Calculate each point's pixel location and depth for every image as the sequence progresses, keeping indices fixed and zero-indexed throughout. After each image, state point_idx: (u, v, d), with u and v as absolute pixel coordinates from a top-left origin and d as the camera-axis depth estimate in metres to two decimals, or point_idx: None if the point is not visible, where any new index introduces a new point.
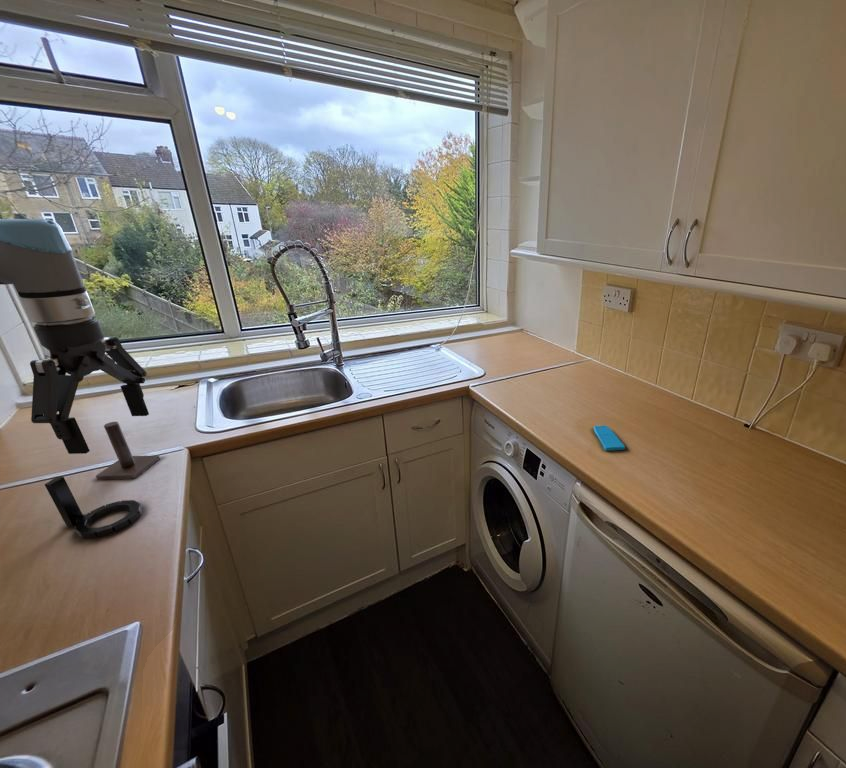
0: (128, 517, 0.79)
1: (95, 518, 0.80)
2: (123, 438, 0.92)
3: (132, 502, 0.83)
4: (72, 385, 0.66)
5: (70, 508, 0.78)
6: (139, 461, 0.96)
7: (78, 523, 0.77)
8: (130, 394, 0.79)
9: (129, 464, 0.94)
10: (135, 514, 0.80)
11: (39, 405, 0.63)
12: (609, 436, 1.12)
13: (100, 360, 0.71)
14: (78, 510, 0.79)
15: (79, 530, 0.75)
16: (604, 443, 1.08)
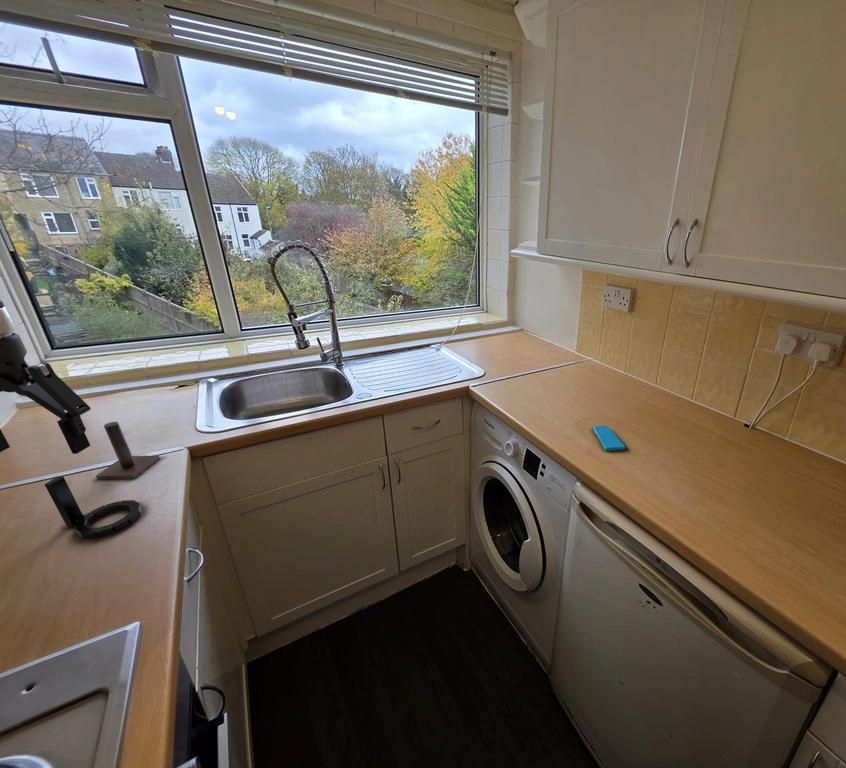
0: (128, 517, 0.79)
1: (95, 518, 0.80)
2: (123, 438, 0.92)
3: (132, 502, 0.83)
4: None
5: (70, 508, 0.78)
6: (139, 461, 0.96)
7: (78, 523, 0.77)
8: None
9: (129, 464, 0.94)
10: (135, 514, 0.80)
11: (71, 399, 0.69)
12: (609, 436, 1.12)
13: None
14: (78, 510, 0.79)
15: (79, 530, 0.75)
16: (604, 443, 1.08)
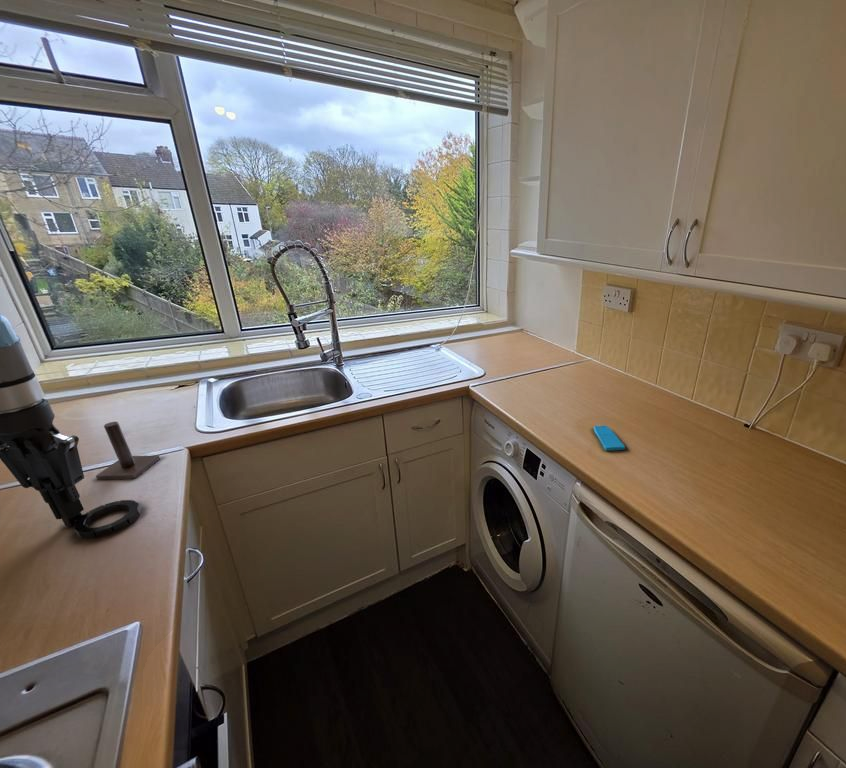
0: (127, 517, 0.79)
1: (94, 518, 0.80)
2: (123, 438, 0.92)
3: (131, 502, 0.82)
4: None
5: None
6: (139, 461, 0.96)
7: (77, 523, 0.77)
8: None
9: (129, 464, 0.94)
10: (134, 514, 0.80)
11: (75, 471, 0.75)
12: (609, 436, 1.12)
13: None
14: None
15: (78, 530, 0.75)
16: (604, 443, 1.08)
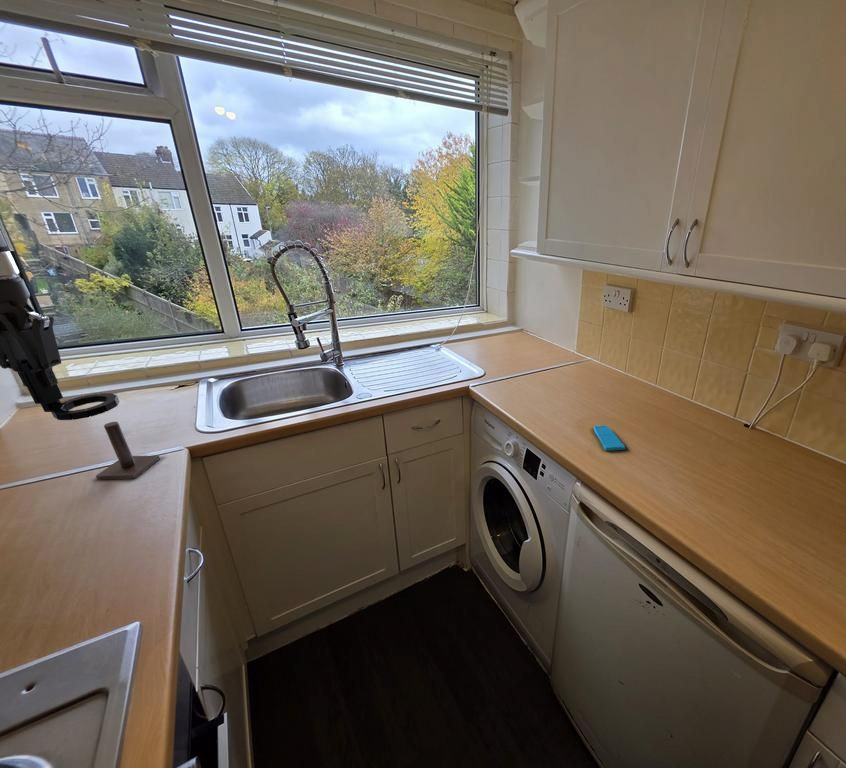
0: (103, 404, 0.79)
1: (72, 406, 0.81)
2: (123, 438, 0.92)
3: (110, 394, 0.83)
4: None
5: None
6: (139, 461, 0.96)
7: (54, 407, 0.78)
8: None
9: (129, 464, 0.94)
10: (111, 402, 0.81)
11: (51, 353, 0.76)
12: (609, 436, 1.12)
13: None
14: None
15: (54, 412, 0.76)
16: (604, 443, 1.08)
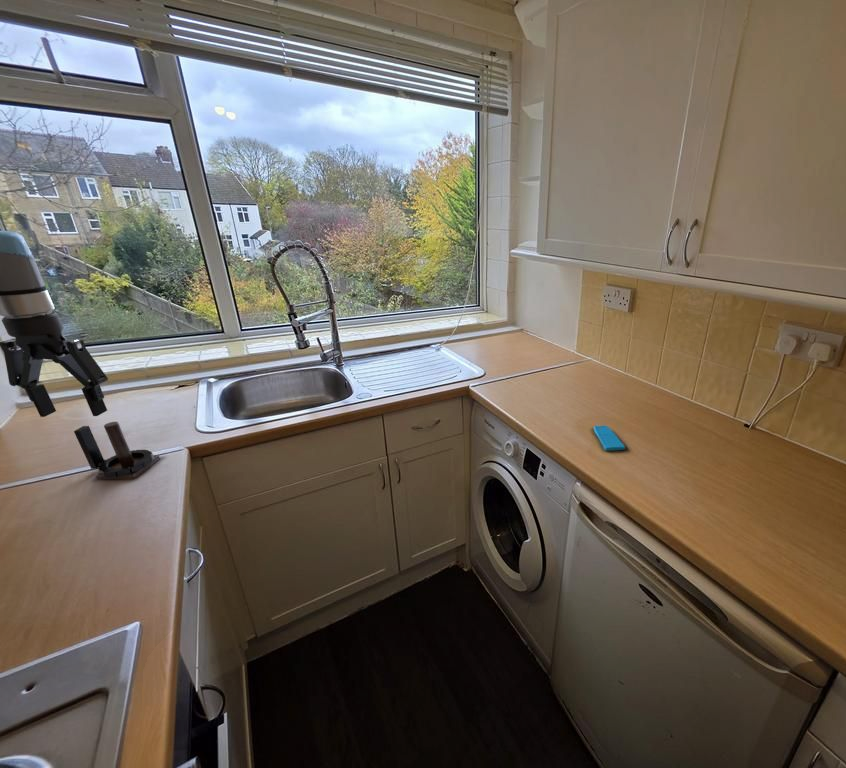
0: (142, 461, 0.94)
1: (114, 463, 0.95)
2: (123, 438, 0.92)
3: (145, 451, 0.98)
4: None
5: (94, 453, 0.93)
6: None
7: (101, 465, 0.92)
8: (40, 394, 0.87)
9: (129, 464, 0.94)
10: (148, 459, 0.95)
11: (95, 371, 0.86)
12: (609, 436, 1.12)
13: None
14: (100, 456, 0.94)
15: (102, 470, 0.91)
16: (604, 443, 1.08)
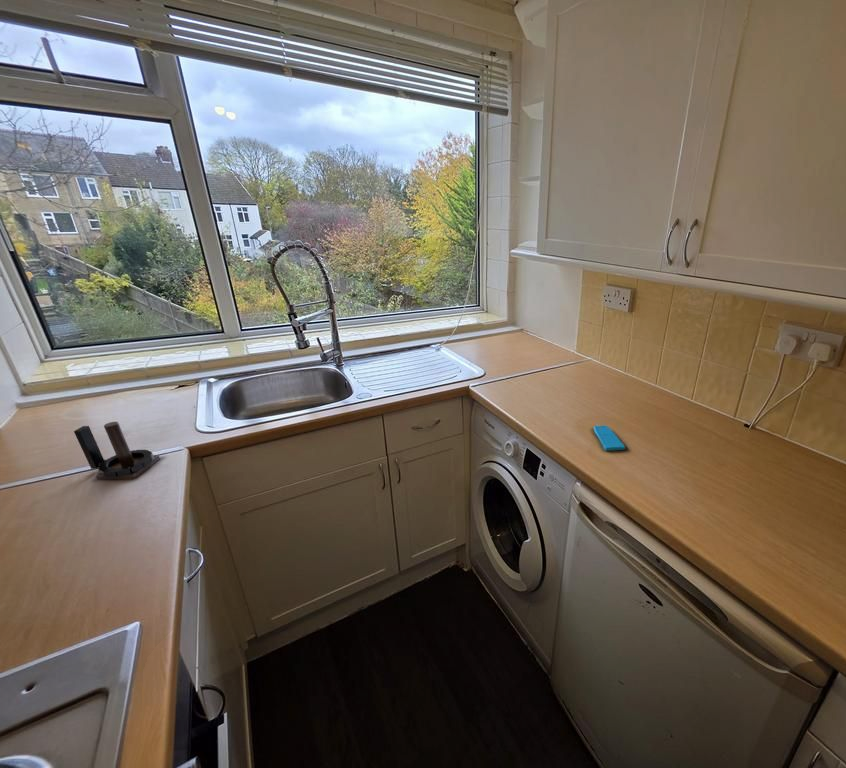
0: (142, 461, 0.94)
1: (114, 463, 0.95)
2: (123, 438, 0.92)
3: (145, 451, 0.98)
4: None
5: (94, 453, 0.93)
6: None
7: (101, 465, 0.92)
8: None
9: (129, 464, 0.94)
10: (148, 459, 0.95)
11: None
12: (609, 436, 1.12)
13: None
14: (100, 456, 0.94)
15: (102, 470, 0.91)
16: (604, 443, 1.08)
